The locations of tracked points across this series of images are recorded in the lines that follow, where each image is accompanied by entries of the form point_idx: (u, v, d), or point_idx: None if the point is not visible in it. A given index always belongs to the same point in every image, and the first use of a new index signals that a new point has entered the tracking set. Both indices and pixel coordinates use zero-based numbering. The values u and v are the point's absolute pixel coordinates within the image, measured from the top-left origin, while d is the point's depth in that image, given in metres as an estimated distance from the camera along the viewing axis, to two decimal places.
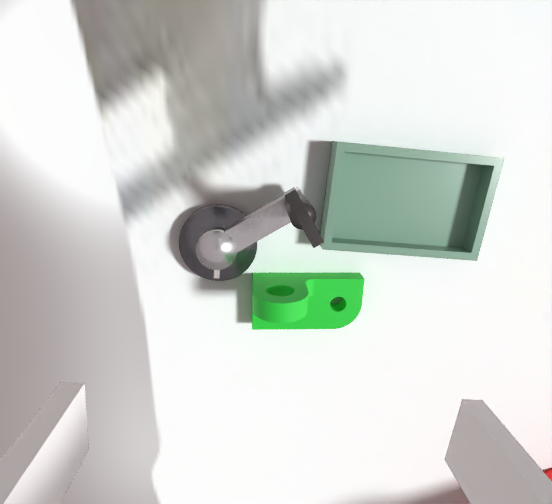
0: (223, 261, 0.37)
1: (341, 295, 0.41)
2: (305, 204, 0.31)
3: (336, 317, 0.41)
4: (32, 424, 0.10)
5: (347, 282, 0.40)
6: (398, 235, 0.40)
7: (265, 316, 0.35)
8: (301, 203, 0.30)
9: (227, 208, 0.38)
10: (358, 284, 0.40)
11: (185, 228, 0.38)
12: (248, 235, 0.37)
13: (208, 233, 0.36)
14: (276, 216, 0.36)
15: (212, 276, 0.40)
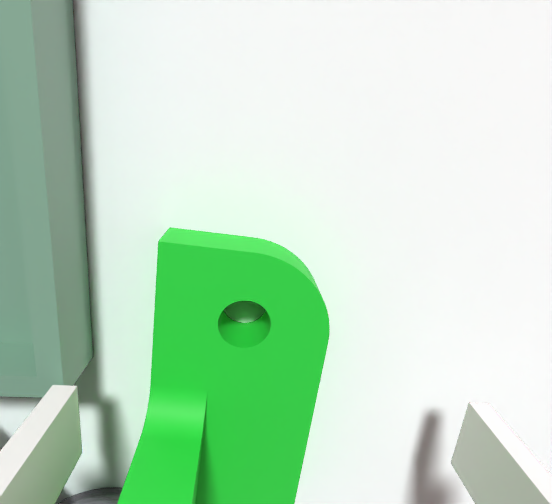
0: None
1: (214, 314, 0.13)
2: None
3: (289, 330, 0.13)
4: (23, 428, 0.10)
5: (167, 295, 0.12)
6: None
7: None
8: None
9: None
10: (178, 260, 0.12)
11: None
12: None
13: None
14: None
15: None
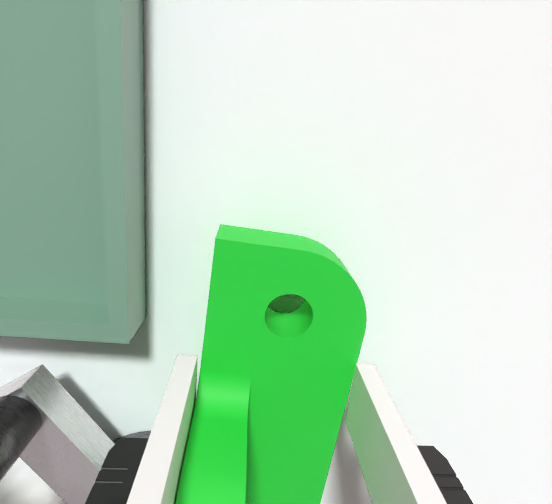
0: None
1: (261, 306, 0.14)
2: None
3: (329, 322, 0.14)
4: (170, 386, 0.12)
5: (221, 287, 0.13)
6: (98, 128, 0.15)
7: None
8: None
9: None
10: (232, 256, 0.13)
11: None
12: None
13: None
14: (49, 453, 0.16)
15: None
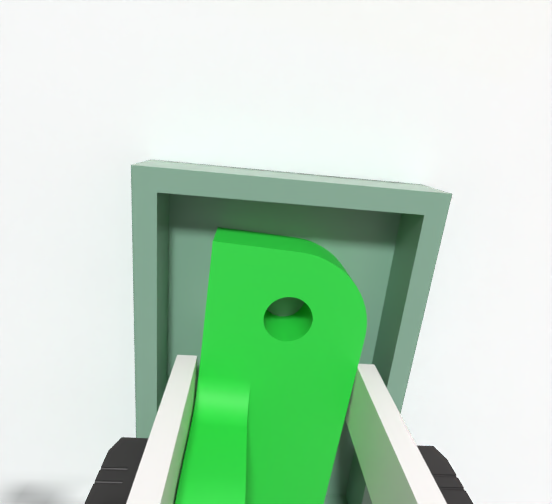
0: None
1: (260, 309, 0.13)
2: None
3: (329, 325, 0.14)
4: (170, 386, 0.12)
5: (218, 291, 0.13)
6: None
7: None
8: None
9: None
10: (230, 259, 0.13)
11: None
12: None
13: None
14: None
15: None
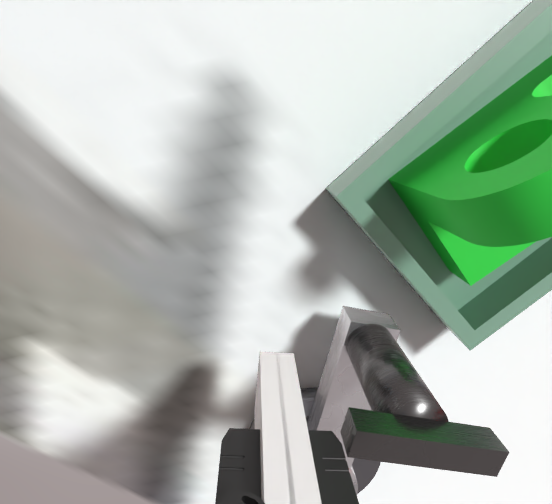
0: None
1: None
2: (399, 410, 0.12)
3: None
4: (264, 380, 0.13)
5: None
6: None
7: (541, 226, 0.11)
8: (395, 440, 0.11)
9: None
10: None
11: None
12: None
13: None
14: (356, 384, 0.18)
15: None
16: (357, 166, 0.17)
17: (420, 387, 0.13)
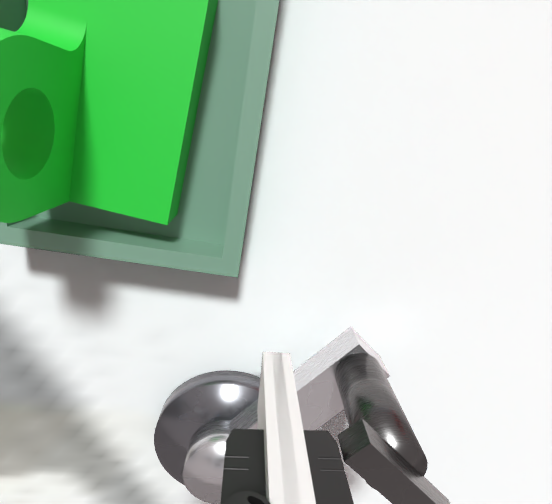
0: None
1: None
2: (396, 444, 0.12)
3: None
4: (267, 381, 0.13)
5: None
6: (229, 72, 0.16)
7: None
8: (392, 468, 0.11)
9: (158, 424, 0.21)
10: None
11: None
12: None
13: (199, 452, 0.19)
14: (322, 399, 0.18)
15: None
16: None
17: (414, 434, 0.13)
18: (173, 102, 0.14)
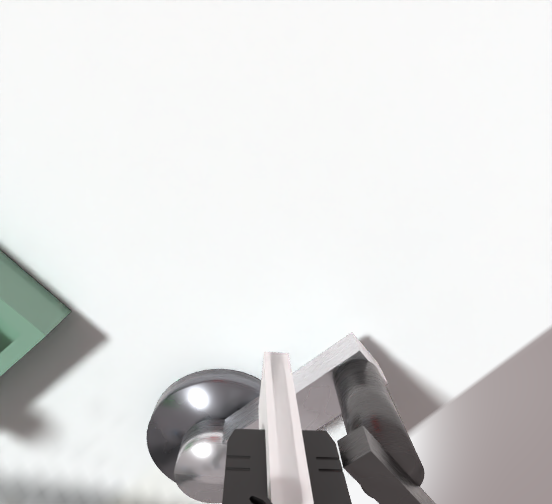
0: None
1: None
2: (395, 453, 0.12)
3: None
4: (268, 381, 0.13)
5: None
6: None
7: None
8: (390, 477, 0.11)
9: (161, 467, 0.22)
10: None
11: None
12: None
13: (192, 450, 0.19)
14: (319, 403, 0.18)
15: None
16: None
17: (412, 444, 0.13)
18: None
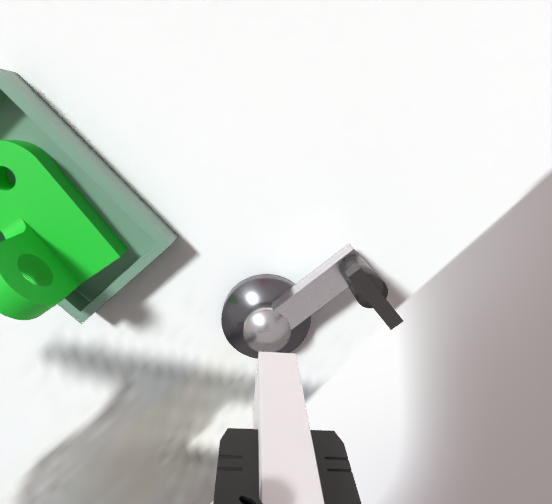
0: (276, 342, 0.32)
1: None
2: (373, 279, 0.25)
3: (19, 166, 0.27)
4: (262, 380, 0.13)
5: None
6: (85, 173, 0.30)
7: (26, 304, 0.25)
8: (370, 282, 0.24)
9: (229, 340, 0.34)
10: None
11: None
12: (301, 309, 0.31)
13: (255, 315, 0.31)
14: (331, 283, 0.31)
15: None
16: None
17: None
18: (71, 211, 0.28)
